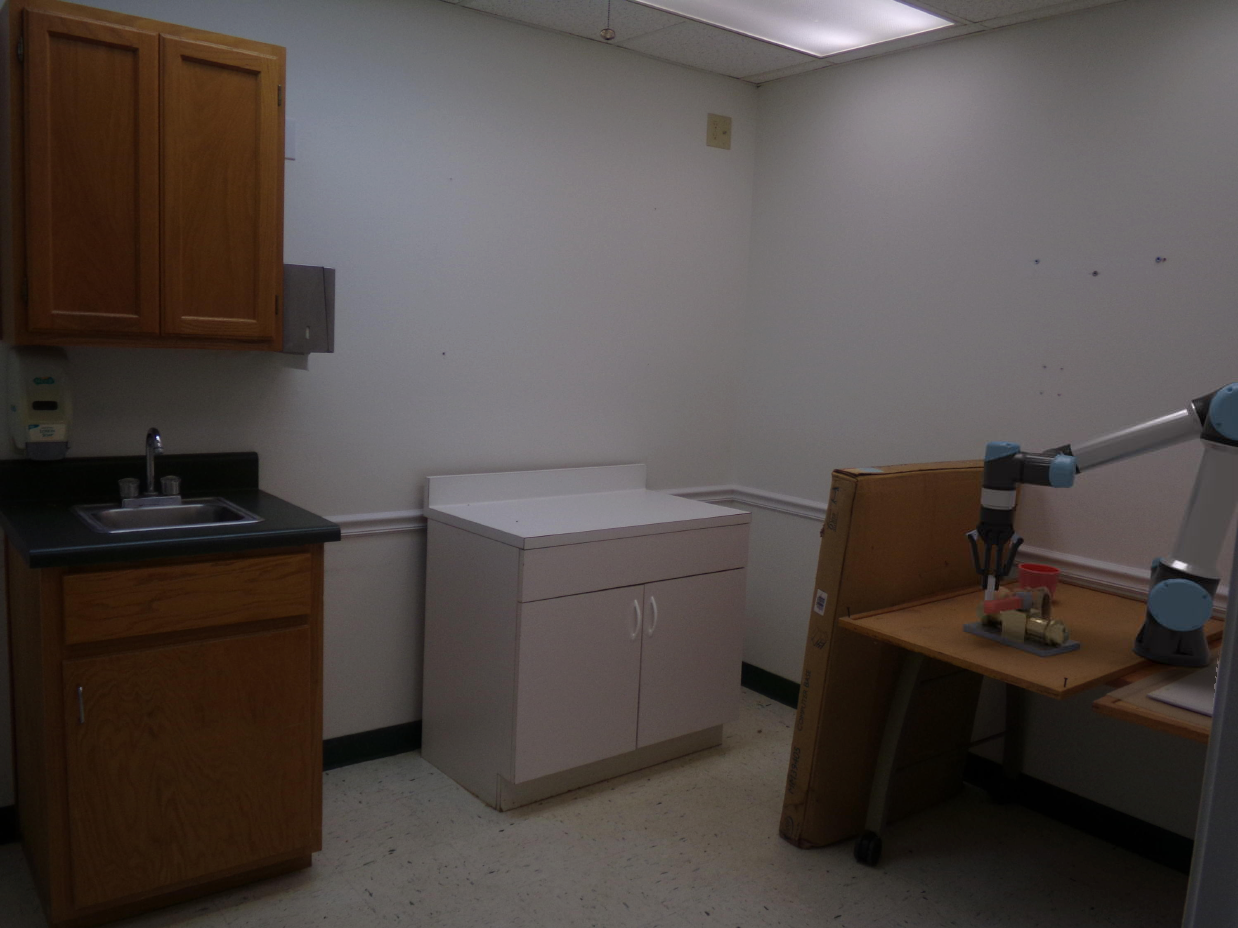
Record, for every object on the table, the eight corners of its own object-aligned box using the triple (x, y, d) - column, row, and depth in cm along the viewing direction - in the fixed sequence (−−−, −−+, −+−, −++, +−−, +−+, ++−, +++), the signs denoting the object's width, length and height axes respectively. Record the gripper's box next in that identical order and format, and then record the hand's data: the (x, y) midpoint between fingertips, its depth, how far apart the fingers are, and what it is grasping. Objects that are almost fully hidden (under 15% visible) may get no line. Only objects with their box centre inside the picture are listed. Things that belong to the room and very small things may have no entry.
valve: (1079, 648, 214) (1083, 617, 214) (1044, 657, 207) (1047, 625, 206) (997, 623, 233) (1000, 594, 232) (962, 630, 226) (965, 600, 225)
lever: (1034, 608, 218) (1035, 594, 218) (992, 617, 210) (993, 602, 209) (1020, 605, 221) (1022, 590, 221) (978, 613, 213) (980, 598, 212)
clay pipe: (1000, 642, 229) (1063, 631, 225) (989, 602, 229) (1053, 590, 224) (991, 619, 247) (1049, 609, 243) (981, 582, 246) (1040, 571, 242)
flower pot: (1064, 607, 251) (1068, 573, 250) (1024, 605, 251) (1028, 571, 250) (1047, 597, 262) (1050, 564, 260) (1009, 595, 262) (1012, 562, 261)
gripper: (1023, 506, 218) (1014, 601, 221) (966, 501, 221) (957, 596, 223) (1030, 511, 210) (1020, 609, 213) (970, 506, 213) (962, 604, 216)
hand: (988, 602), depth 218 cm, fingers closed
